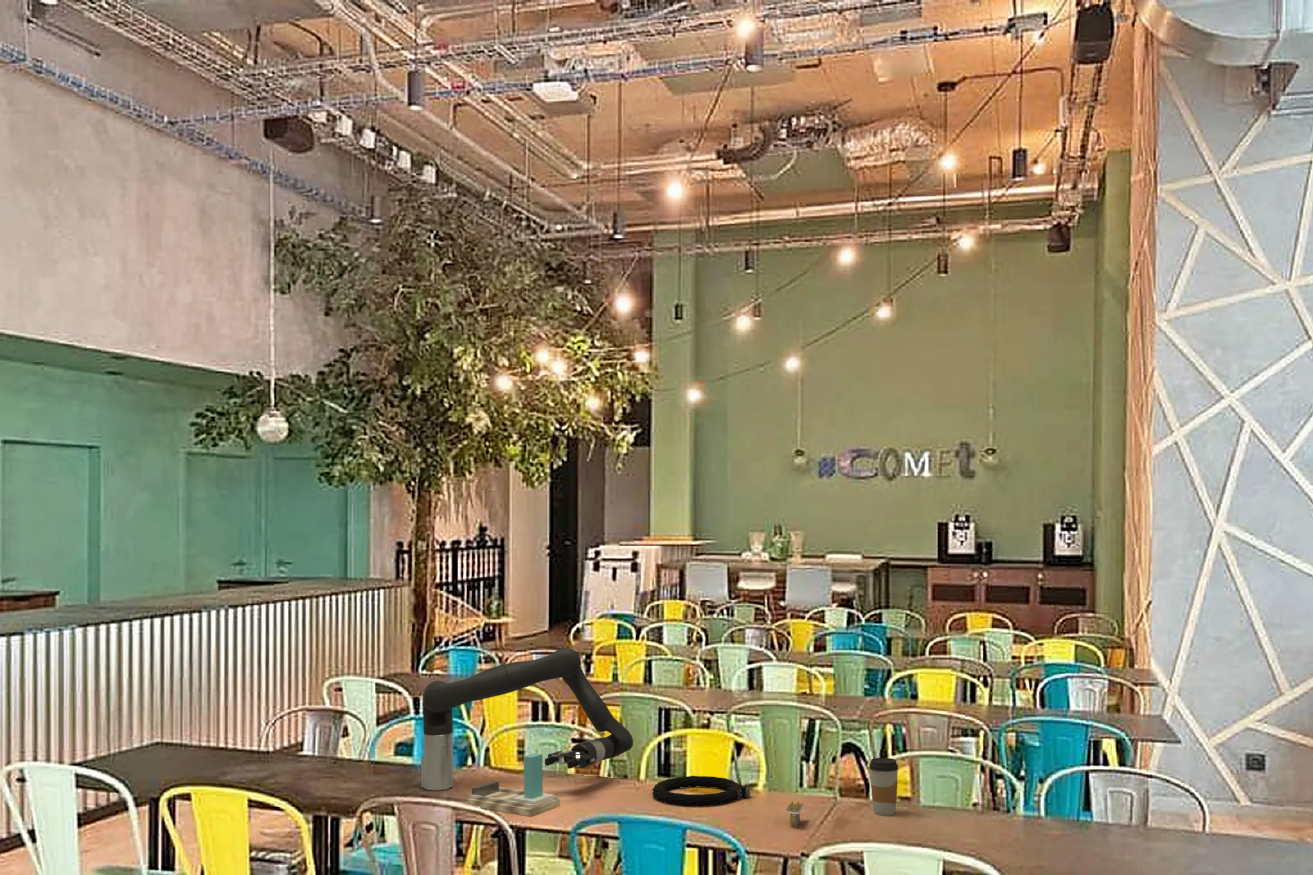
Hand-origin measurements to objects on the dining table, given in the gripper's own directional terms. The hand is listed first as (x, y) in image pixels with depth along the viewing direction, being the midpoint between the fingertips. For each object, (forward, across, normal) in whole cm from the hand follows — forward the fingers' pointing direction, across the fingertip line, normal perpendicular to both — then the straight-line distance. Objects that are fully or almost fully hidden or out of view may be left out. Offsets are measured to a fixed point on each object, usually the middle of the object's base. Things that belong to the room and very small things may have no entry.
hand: (556, 763), depth 374 cm
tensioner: (+12, 0, +9) cm, 14 cm away
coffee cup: (-35, +91, +12) cm, 98 cm away
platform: (-12, +74, +12) cm, 76 cm away
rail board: (+12, -8, +11) cm, 18 cm away
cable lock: (-26, +35, +12) cm, 45 cm away
